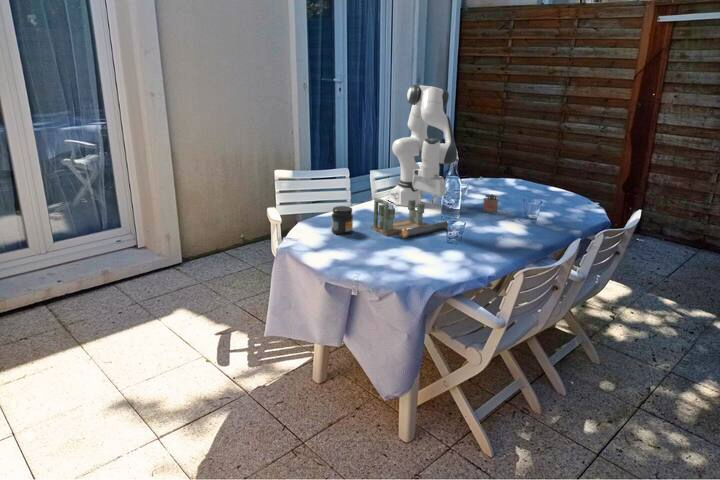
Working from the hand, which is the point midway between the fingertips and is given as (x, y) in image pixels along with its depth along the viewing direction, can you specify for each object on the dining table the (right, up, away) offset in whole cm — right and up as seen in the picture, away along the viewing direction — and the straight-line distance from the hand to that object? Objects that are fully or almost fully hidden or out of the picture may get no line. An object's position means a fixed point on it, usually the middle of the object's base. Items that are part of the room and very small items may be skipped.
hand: (427, 201), depth 267 cm
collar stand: (-12, -13, +13) cm, 22 cm away
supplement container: (-42, -15, +5) cm, 45 cm away
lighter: (+41, -3, +46) cm, 61 cm away
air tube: (-1, -16, +6) cm, 17 cm away
